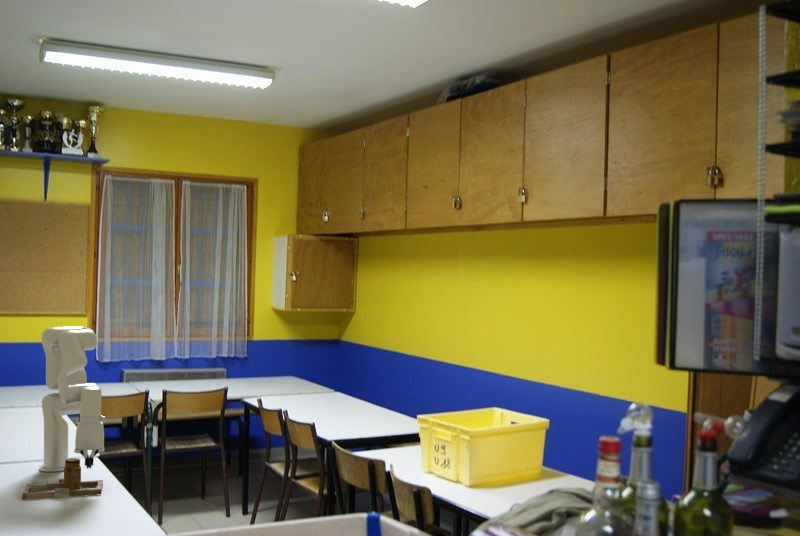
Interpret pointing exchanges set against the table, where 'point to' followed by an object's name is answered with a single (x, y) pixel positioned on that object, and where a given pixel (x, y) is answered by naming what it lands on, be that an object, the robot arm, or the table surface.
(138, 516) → the table surface
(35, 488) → the frame
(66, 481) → the condiment
